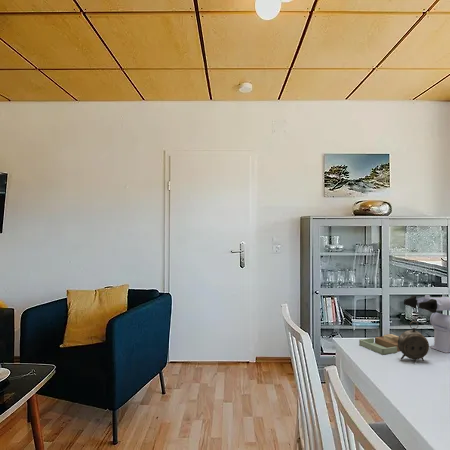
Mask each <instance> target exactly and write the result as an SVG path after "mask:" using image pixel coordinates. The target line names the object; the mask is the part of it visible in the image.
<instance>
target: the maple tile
mask: <svg viewBox="0 0 450 450" xmlns="http://www.w3.org/2000/svg"><path fill="white" fill-rule="evenodd" d="M383 336H384V340H387V341H389V342H396V341H398V339H399V337H400V335H396V334H392V333H388V334H383Z"/></svg>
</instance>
